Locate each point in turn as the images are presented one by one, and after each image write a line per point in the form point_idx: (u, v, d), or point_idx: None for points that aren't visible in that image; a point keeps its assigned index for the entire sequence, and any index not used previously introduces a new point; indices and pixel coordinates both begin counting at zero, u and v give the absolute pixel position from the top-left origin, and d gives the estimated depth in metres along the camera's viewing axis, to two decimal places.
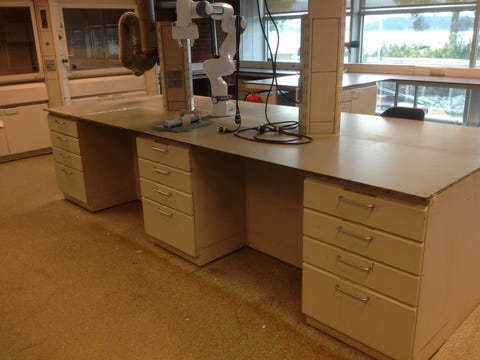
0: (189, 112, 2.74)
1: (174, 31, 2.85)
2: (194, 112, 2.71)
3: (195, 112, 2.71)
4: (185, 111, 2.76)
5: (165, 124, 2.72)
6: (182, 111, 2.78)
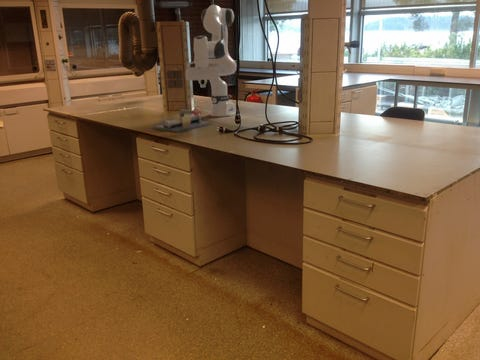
0: (189, 112, 2.74)
1: (189, 72, 2.67)
2: (194, 112, 2.71)
3: (195, 112, 2.71)
4: (185, 111, 2.76)
5: (165, 124, 2.72)
6: (182, 111, 2.78)
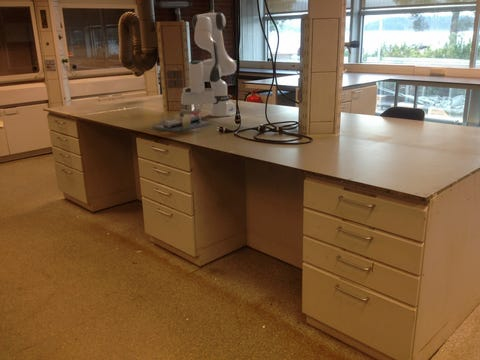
0: (188, 112, 2.74)
1: (185, 97, 2.67)
2: (193, 112, 2.71)
3: (193, 112, 2.70)
4: (184, 111, 2.76)
5: (165, 124, 2.72)
6: (182, 111, 2.78)
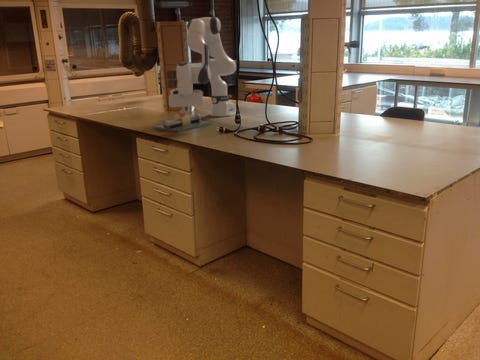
0: None
1: (173, 99, 2.63)
2: (179, 113, 2.68)
3: (179, 113, 2.67)
4: None
5: (165, 124, 2.72)
6: None
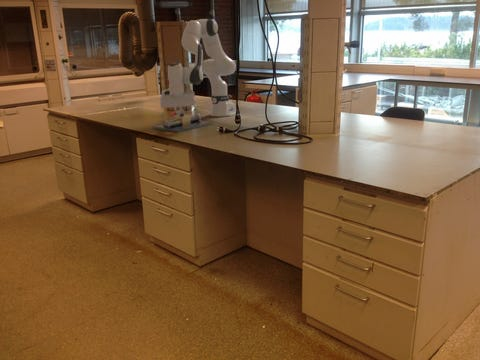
0: None
1: (164, 99, 2.62)
2: None
3: None
4: None
5: (165, 124, 2.72)
6: None
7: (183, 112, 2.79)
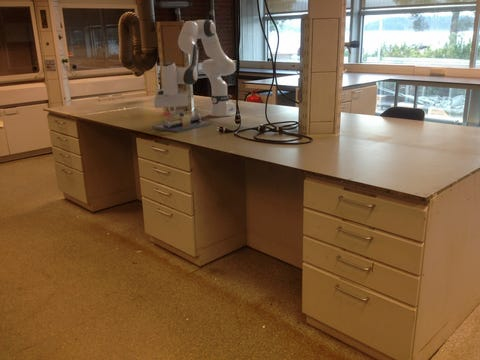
0: None
1: (158, 99, 2.63)
2: None
3: None
4: None
5: (165, 124, 2.72)
6: None
7: (183, 112, 2.79)
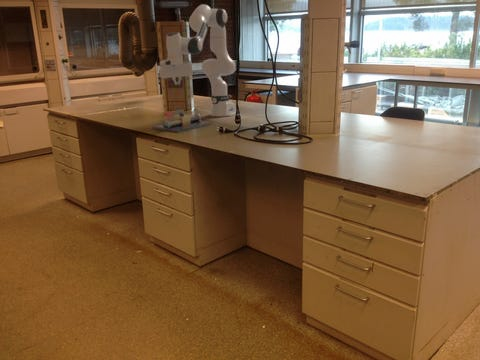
0: None
1: (165, 69, 2.63)
2: None
3: None
4: None
5: (165, 124, 2.72)
6: None
7: (183, 112, 2.79)
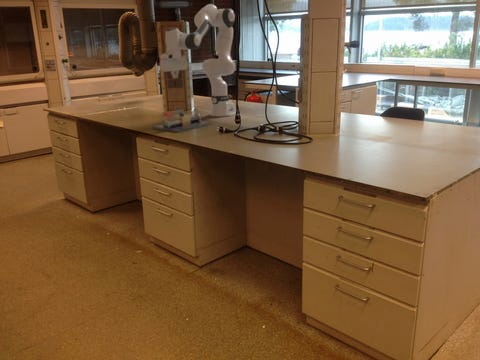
0: None
1: (167, 63, 2.75)
2: None
3: None
4: None
5: (165, 124, 2.72)
6: None
7: (183, 112, 2.79)
